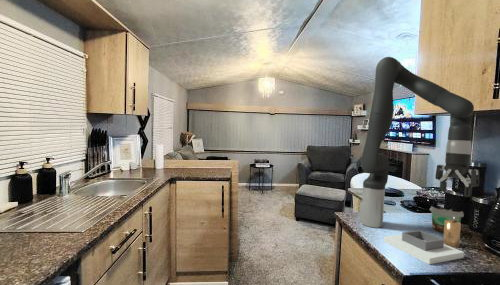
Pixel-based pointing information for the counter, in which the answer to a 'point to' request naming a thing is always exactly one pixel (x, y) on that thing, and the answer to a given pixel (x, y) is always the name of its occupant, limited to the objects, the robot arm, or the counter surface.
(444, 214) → the food container
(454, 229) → the spout can
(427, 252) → the white board with frame
